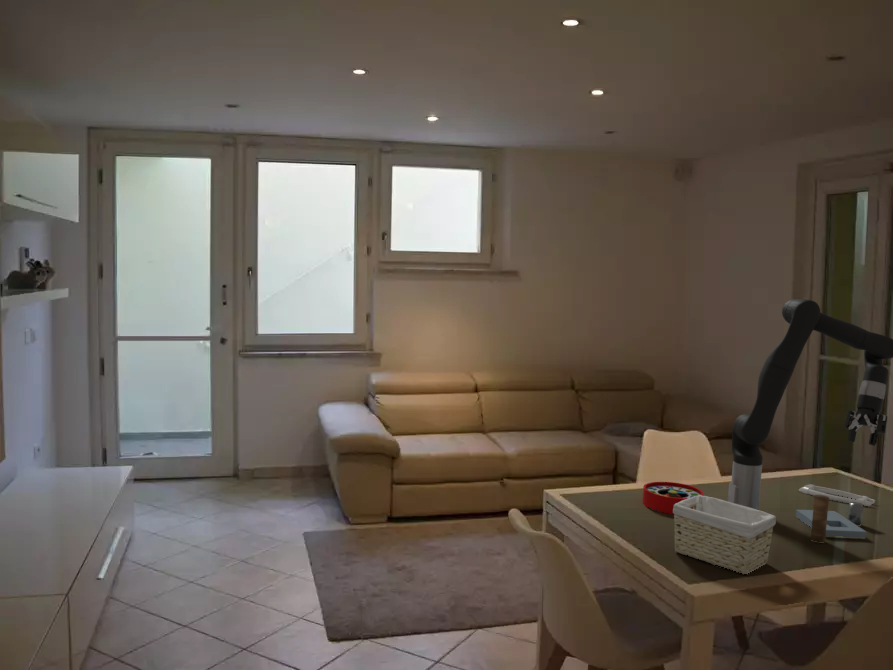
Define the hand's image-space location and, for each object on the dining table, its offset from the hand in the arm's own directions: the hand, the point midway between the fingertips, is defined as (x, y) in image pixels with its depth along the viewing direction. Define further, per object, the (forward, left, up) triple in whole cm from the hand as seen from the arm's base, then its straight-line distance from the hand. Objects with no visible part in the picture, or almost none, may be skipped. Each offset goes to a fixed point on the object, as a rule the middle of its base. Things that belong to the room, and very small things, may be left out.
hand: (861, 443), depth 259 cm
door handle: (+6, +24, -27) cm, 36 cm away
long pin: (-23, -24, -26) cm, 42 cm away
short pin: (-3, -6, -26) cm, 27 cm away
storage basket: (-59, -42, -26) cm, 77 cm away
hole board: (-13, -10, -26) cm, 31 cm away
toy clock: (-59, +7, -26) cm, 65 cm away
